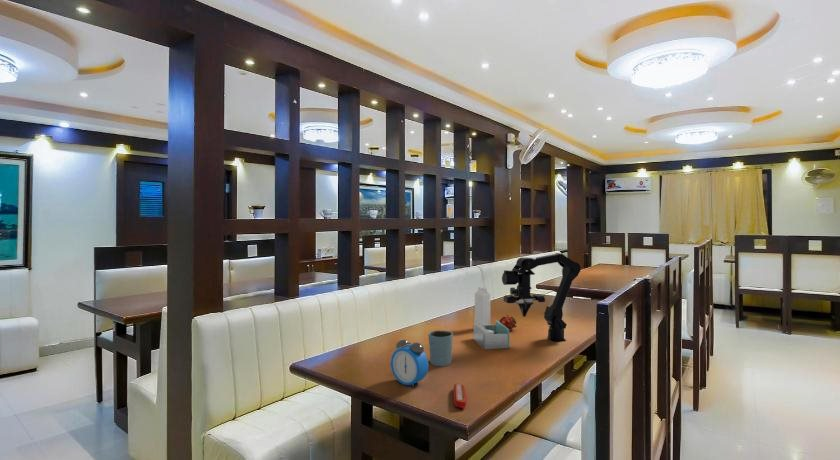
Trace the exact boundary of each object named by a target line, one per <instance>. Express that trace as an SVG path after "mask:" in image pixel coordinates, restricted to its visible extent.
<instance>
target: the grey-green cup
mask: <svg viewBox="0 0 840 460" xmlns="http://www.w3.org/2000/svg"><path fill="white" fill-rule="evenodd" d="M453 336H454V333H453V332H451V331H448V330H433V331H429V332H428V336H427V337H428V345H429V362H430V364H431V365H433V366H435V367H448V366H450V365H451V364H452V353H453V351H452V350H453Z"/></svg>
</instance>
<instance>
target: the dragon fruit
mask: <svg viewBox="0 0 840 460" xmlns="http://www.w3.org/2000/svg"><path fill="white" fill-rule="evenodd" d="M499 322H500V323H501V324H503V325H504V326H505V327H507V328H508V329H509V332H511V331H513V329H515V328H517V320H516V318H515V317H514V316H513V315H511V316H509V315H508V314H507V315H506V316H505V315H504V316H502V317H501V318H500V319H499Z"/></svg>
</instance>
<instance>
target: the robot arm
mask: <svg viewBox="0 0 840 460" xmlns="http://www.w3.org/2000/svg"><path fill="white" fill-rule="evenodd" d="M554 263H557V264H558V265H559V266H561V269H562V270H561V275H562V278H561V281H560V284H559V285H558V288H557V291H556V294H555V296H554V299H553V302H552V304H550V306H546V307H545V311H544V312H543V317H544V320H545V321H546V323H547V325H548V331H547V338H548V339H549V340H551V341H552V342H562V341H563V342H564V341H566V339H565V329H567V323H566V322H565V321H564V320H563V316H564V313H563V308H564V305H565V302H566V299H567V296H568V294H569V292H570V288H571V286H572V285H573V281H574V280H575V279H576V278H577V277H578V276H579V274H580V272H581V270H582V266H581V264H580V263H579V262H577V261H574V260H572V259H570V258H569V257H568V256H566V255H564V254H563V253H561V252H560V253H559V252H557V253H553V254H547V255H542V256H537V257H518V258H517V260H516V262H515V265H514V266H513V268H512V269H511V270H507V269H506V270H503V273H502V275H501V282H502V284H503V286H510V285H511V286H512V285H517V286H516V287H509V293H510V294H509V295H508V294H507V295H504V296H503V302H505V303H507V304H516V305H518V306H519V309H520V311H521V315H522V317H524V318H525V317H527V314H528V311H530V308H531V306H532V305H534V302H533V301H537V303H545V302H546V298H545V296H544V295H542V294H532V295H531V290H532V287H531V275H532V276H533V275H536V273H535V272H534V271H533V269H536V268H537V267H539V266H545V265H549V264H554Z"/></svg>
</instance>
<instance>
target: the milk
mask: <svg viewBox="0 0 840 460" xmlns="http://www.w3.org/2000/svg"><path fill="white" fill-rule="evenodd" d="M487 290H488V289H487V288H484V287H478V289H477V291H476V292H475V293H474V325H475V324H481V325H491V293H490V292H488V291H487Z"/></svg>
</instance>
